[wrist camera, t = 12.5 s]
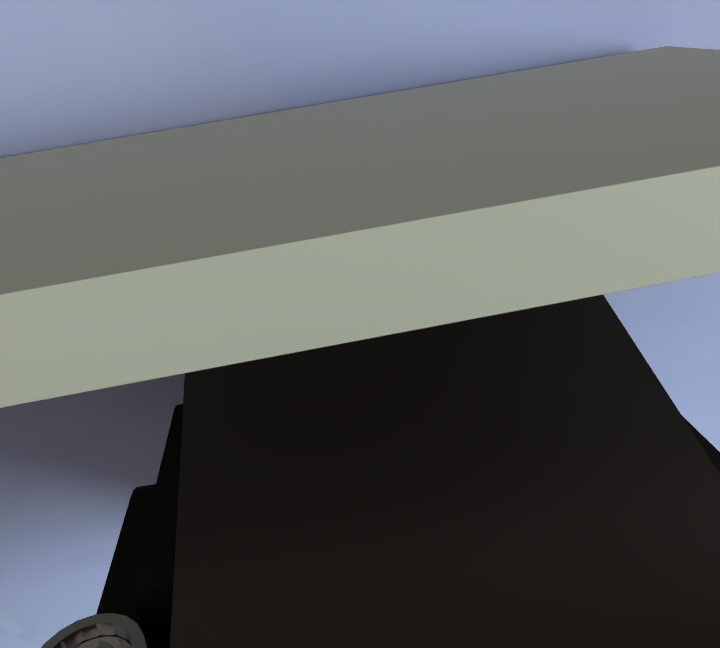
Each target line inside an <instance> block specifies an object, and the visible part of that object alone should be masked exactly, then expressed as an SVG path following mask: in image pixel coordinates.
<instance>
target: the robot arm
mask: <svg viewBox="0 0 720 648" xmlns="http://www.w3.org/2000/svg"><path fill="white" fill-rule="evenodd" d="M682 417H683V416H682ZM182 418H183V404H180V405H176V407H175V409H174V413H173V417H172V421H171V425H170V430H169V434H168V438H167V442H166V446H165V450H164V454H163V458H162V462H161V466H160V470H159V474H158V478H157V482H156V484H154V485H147V486H141V487H137V488H136V489H134V490H133V493H132V495H131V498H130V501H129V505H128V508H127V511H126V515H125V518H124V522H123V525H122V529H121V532H120V535H119V539H118V542H117V546H116V549H115V552H114V556H113V559H112V563H111V566H110V569H109V573H108V576H107V580H106V583H105V587H104V590H103V593H102V597H101V600H100V604H99V607H98V610H97V614H96V615H93V616H90V617H87V618H84V619H81V620H78V621H76V622H74V623H72V624H71V625H69V626H67V627H65V628H64V629H62V630H60V631H59V632H58V633H56V634H55V635H54V636H53V637H52V638H51V639H49V640H48V641H47V642H46V643H45V644H44V645H43V646H42V647H41V648H170V636H171V618H172V600H173V582H174V563H175V545H176V527H177V509H178V491H179V473H180V455H181V437H182ZM683 418H684V417H683ZM684 420H685V422H686V423H687V425H688V426H689V428H690V429H691V431H692V432H693V434H694V435H695V437H696V438H697V440H698V442H699V443H700V445H701V446H702V448H703V449H704V451H705V452H706V454H707V455H708V457H709V458H710V460H711V462H712V463H713V465H714V466H715V468H716V469H717V471H718V472H719V474H720V452H719V451H718V450H717V449H716V448H715V447H714V446H713V445H712V444H711V443H710V442H709V441H708V440H707V439H706V438H705V437H703V436H702V435H701V434H700V433H699V432H698V431H697V430H696V429H695V428H694V427H693V426H692V425H691V424H690V423H689V422H688V421H687V420H686V419H685V418H684Z"/></svg>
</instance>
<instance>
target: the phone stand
mask: <svg viewBox="0 0 720 648" xmlns="http://www.w3.org/2000/svg"><path fill="white" fill-rule="evenodd" d="M170 648H720V474H719V472H718V471H717V469H716V468H715V466H714V465H713V463H712V462H711V460H710V458H709V457H708V455H707V454H706V452H705V451H704V449H703V448H702V446H701V445H700V443H699V442H698V440H697V438H696V437H695V435H694V434H693V432H692V431H691V429H690V428H689V426H688V425H687V423H686V422H685V420H684V418H683V417H682V415H681V414H680V412H679V411H678V409H677V408H676V406H675V405H674V403H673V402H672V400H671V398H670V397H669V395H668V394H667V392H666V391H665V389H664V388H663V386H662V385H661V383H660V382H659V380H658V378H657V377H656V375H655V374H654V372H653V371H652V369H651V368H650V366H649V365H648V363H647V362H646V360H645V358H644V357H643V355H642V354H641V352H640V351H639V349H638V348H637V346H636V345H635V343H634V342H633V340H632V338H631V337H630V335H629V334H628V332H627V331H626V329H625V328H624V326H623V325H622V323H621V322H620V320H619V318H618V317H617V315H616V314H615V312H614V311H613V309H612V308H611V306H610V305H609V303H608V302H607V300H606V298H605V297H604V295H597V296H592V297H587V298H581V299H576V300H571V301H565V302H560V303H555V304H549V305H544V306H539V307H533V308H528V309H523V310H518V311H512V312H507V313H502V314H496V315H491V316H486V317H480V318H475V319H470V320H464V321H459V322H454V323H448V324H443V325H438V326H432V327H427V328H422V329H416V330H411V331H406V332H401V333H395V334H390V335H385V336H379V337H374V338H369V339H363V340H358V341H353V342H347V343H342V344H337V345H331V346H326V347H321V348H315V349H310V350H305V351H300V352H294V353H289V354H284V355H278V356H273V357H268V358H262V359H257V360H252V361H246V362H241V363H236V364H230V365H225V366H220V367H214V368H209V369H204V370H199V371H193V372H188V373H185V382H184V400H183V418H182V437H181V455H180V473H179V491H178V509H177V527H176V545H175V563H174V582H173V600H172V618H171V636H170Z"/></svg>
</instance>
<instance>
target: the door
mask: <svg viewBox="0 0 720 648" xmlns="http://www.w3.org/2000/svg"><path fill="white" fill-rule="evenodd" d="M714 273H720V50H712V49H699V48H685V47H671V46H665V47H659V48H653V49H647V50H641V51H635V52H629V53H623V54H617V55H611V56H605V57H599V58H593V59H587V60H581V61H575V62H569V63H563V64H557V65H551V66H545V67H540V68H534V69H528V70H522V71H516V72H510V73H504V74H498V75H492V76H486V77H480V78H474V79H468V80H462V81H456V82H450V83H444V84H438V85H432V86H426V87H420V88H414V89H408V90H402V91H396V92H390V93H384V94H378V95H372V96H366V97H360V98H354V99H348V100H342V101H336V102H330V103H325V104H319V105H313V106H307V107H301V108H295V109H289V110H283V111H277V112H271V113H265V114H259V115H253V116H247V117H241V118H235V119H229V120H223V121H217V122H211V123H205V124H199V125H193V126H187V127H181V128H175V129H169V130H163V131H157V132H151V133H145V134H139V135H133V136H127V137H121V138H115V139H109V140H104V141H98V142H92V143H86V144H80V145H74V146H68V147H62V148H56V149H50V150H44V151H38V152H32V153H26V154H20V155H14V156H8V157H2V158H0V408H2V407H7V406H12V405H18V404H23V403H28V402H34V401H39V400H44V399H50V398H55V397H60V396H66V395H71V394H76V393H82V392H87V391H92V390H98V389H103V388H108V387H113V386H119V385H124V384H129V383H135V382H140V381H145V380H151V379H156V378H161V377H167V376H172V375H177V374H183V373H188V372H193V371H199V370H204V369H209V368H214V367H220V366H225V365H230V364H236V363H241V362H246V361H252V360H257V359H262V358H268V357H273V356H278V355H284V354H289V353H294V352H300V351H305V350H310V349H315V348H321V347H326V346H331V345H337V344H342V343H347V342H353V341H358V340H363V339H369V338H374V337H379V336H385V335H390V334H395V333H401V332H406V331H411V330H416V329H422V328H427V327H432V326H438V325H443V324H448V323H454V322H459V321H464V320H470V319H475V318H480V317H486V316H491V315H496V314H502V313H507V312H512V311H518V310H523V309H528V308H533V307H539V306H544V305H549V304H555V303H560V302H565V301H571V300H576V299H581V298H587V297H592V296H597V295H603V294H608V293H613V292H619V291H624V290H629V289H634V288H640V287H645V286H650V285H656V284H661V283H666V282H672V281H677V280H682V279H688V278H693V277H698V276H704V275H709V274H714Z"/></svg>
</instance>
